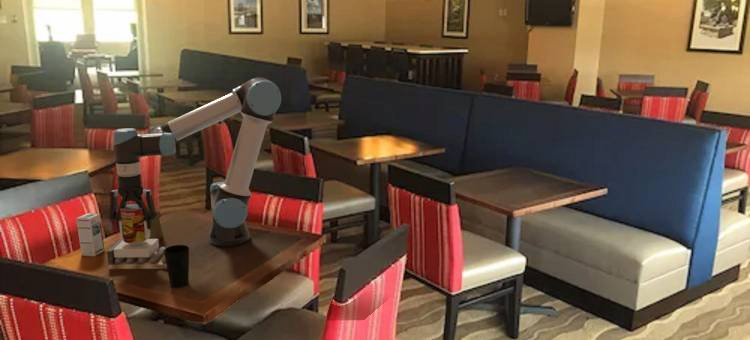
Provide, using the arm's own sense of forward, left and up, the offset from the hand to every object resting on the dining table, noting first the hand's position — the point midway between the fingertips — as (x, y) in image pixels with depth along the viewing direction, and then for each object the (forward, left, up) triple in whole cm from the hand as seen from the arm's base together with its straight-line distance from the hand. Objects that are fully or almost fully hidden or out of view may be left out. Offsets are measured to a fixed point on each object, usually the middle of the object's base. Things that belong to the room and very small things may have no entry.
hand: (135, 237), depth 214 cm
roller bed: (-3, 0, -9) cm, 10 cm away
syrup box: (+20, -9, -9) cm, 24 cm away
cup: (-20, +19, -9) cm, 29 cm away
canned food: (0, 0, -1) cm, 1 cm away
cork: (+3, -26, -9) cm, 28 cm away
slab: (0, 0, -5) cm, 5 cm away
